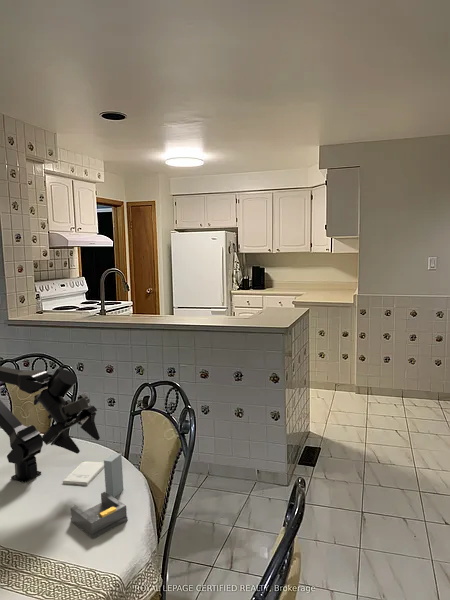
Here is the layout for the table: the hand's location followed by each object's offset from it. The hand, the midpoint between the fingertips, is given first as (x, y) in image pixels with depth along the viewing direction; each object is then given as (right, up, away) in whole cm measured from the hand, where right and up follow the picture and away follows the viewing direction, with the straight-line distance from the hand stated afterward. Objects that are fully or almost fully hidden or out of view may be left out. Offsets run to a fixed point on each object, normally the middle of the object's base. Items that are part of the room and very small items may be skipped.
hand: (89, 445), depth 130 cm
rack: (+7, -15, -14) cm, 22 cm away
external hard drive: (-4, -13, +11) cm, 18 cm away
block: (+8, -13, -1) cm, 16 cm away
